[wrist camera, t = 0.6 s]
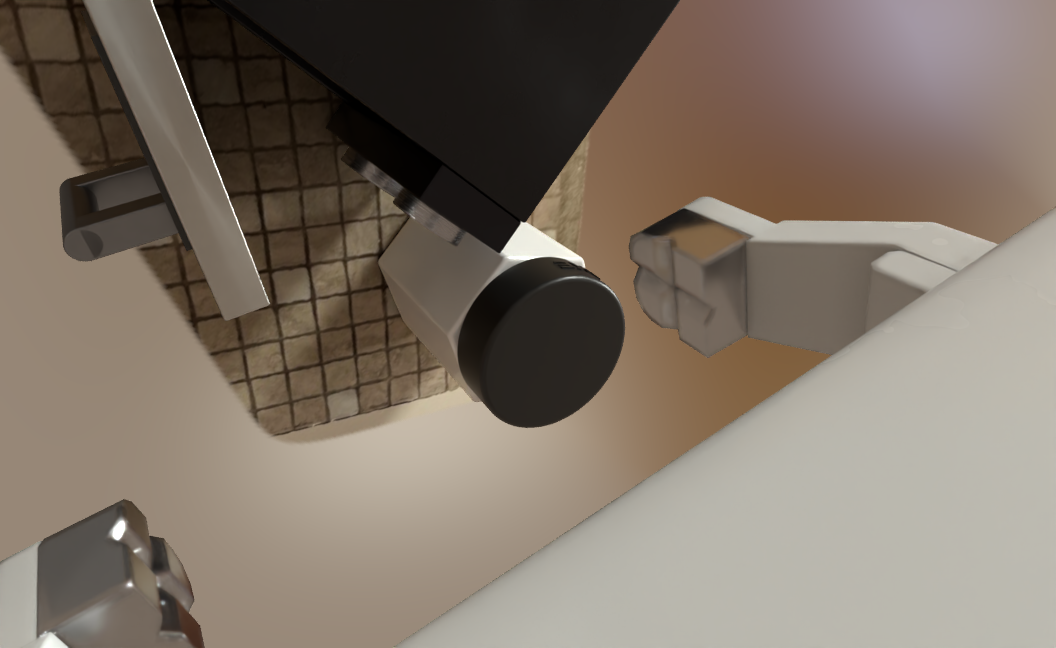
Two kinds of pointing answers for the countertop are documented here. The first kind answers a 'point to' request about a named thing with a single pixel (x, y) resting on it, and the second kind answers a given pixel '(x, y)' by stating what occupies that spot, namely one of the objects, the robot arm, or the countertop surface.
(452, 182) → the oven
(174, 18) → the countertop surface
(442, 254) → the jar
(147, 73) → the oven door
